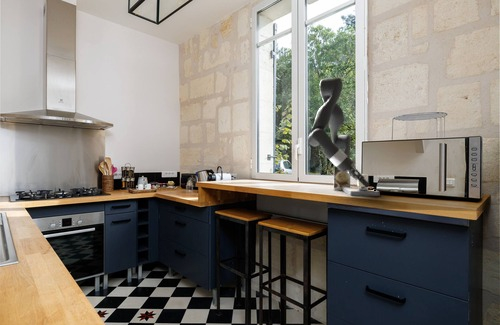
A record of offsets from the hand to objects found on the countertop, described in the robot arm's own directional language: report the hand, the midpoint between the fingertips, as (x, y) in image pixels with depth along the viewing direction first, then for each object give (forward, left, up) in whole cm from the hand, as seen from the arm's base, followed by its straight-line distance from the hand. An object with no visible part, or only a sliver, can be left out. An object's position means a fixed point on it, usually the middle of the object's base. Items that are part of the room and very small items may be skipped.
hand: (367, 185), depth 135 cm
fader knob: (0, -2, -2) cm, 3 cm away
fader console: (-6, -2, -4) cm, 8 cm away
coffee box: (-24, -8, -5) cm, 26 cm away
